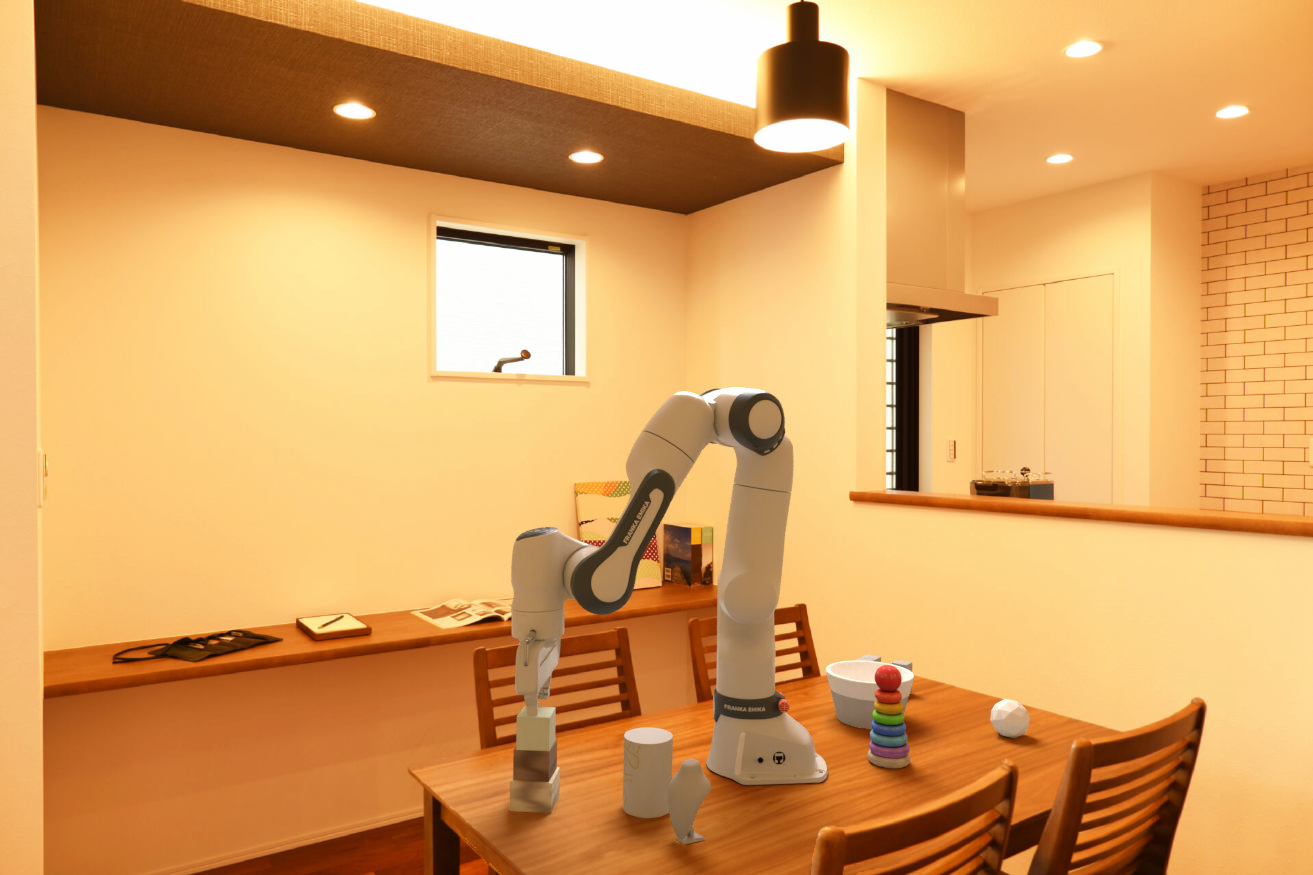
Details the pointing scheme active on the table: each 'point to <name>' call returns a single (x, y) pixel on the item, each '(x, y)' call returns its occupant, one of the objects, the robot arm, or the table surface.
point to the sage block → (536, 730)
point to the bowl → (860, 690)
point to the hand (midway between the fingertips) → (538, 706)
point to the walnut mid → (535, 764)
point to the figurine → (687, 799)
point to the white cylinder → (647, 772)
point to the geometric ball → (1010, 718)
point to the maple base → (535, 794)
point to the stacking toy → (888, 722)
